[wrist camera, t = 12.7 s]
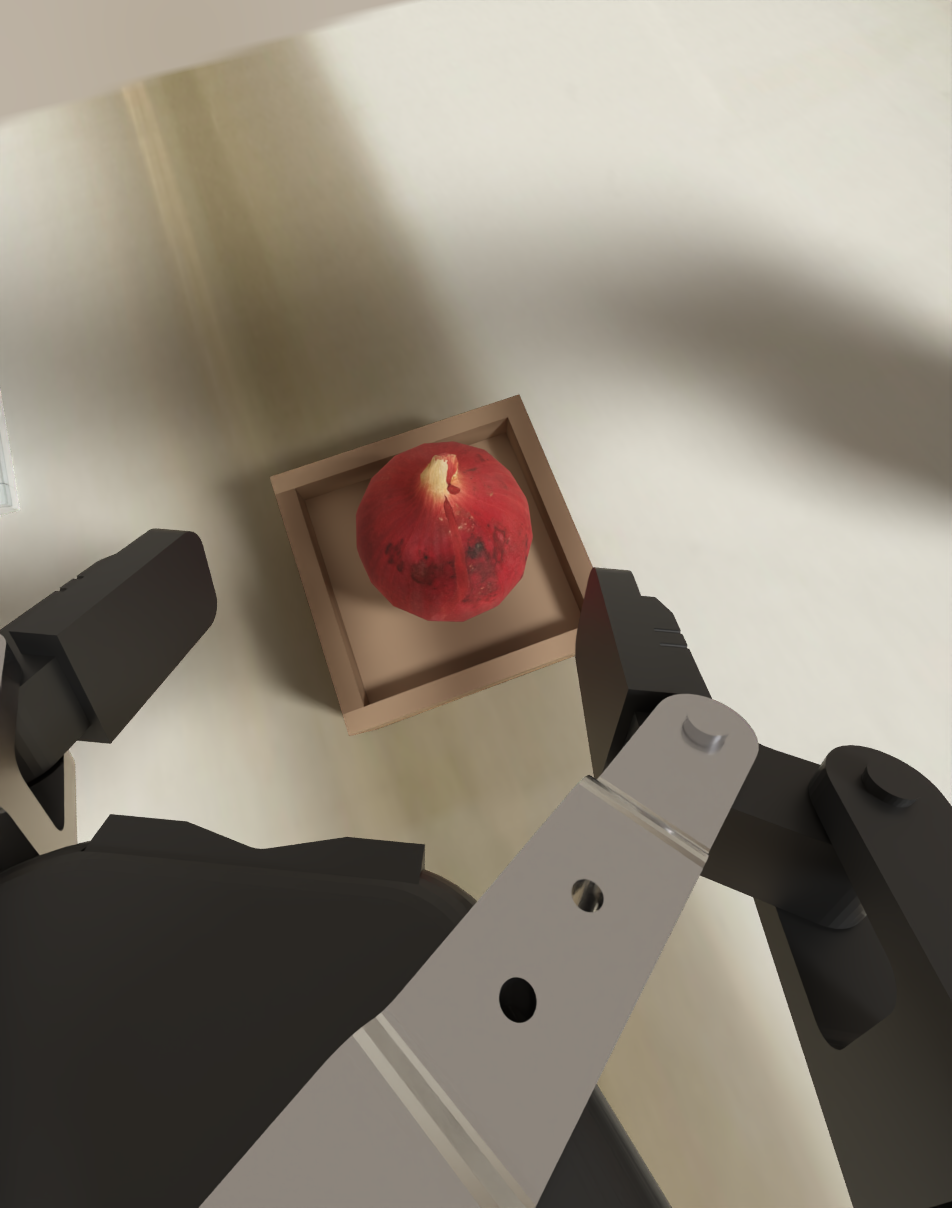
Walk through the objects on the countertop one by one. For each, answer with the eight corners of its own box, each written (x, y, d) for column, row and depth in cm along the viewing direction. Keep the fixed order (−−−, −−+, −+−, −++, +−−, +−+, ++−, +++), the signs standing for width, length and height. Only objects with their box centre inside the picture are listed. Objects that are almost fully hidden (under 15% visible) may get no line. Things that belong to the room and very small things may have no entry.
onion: (543, 599, 20) (596, 527, 13) (412, 661, 20) (382, 627, 12) (479, 478, 21) (492, 342, 14) (352, 533, 21) (289, 424, 13)
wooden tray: (510, 455, 26) (519, 394, 21) (590, 650, 24) (621, 634, 19) (311, 523, 25) (269, 477, 20) (376, 729, 23) (349, 736, 18)
